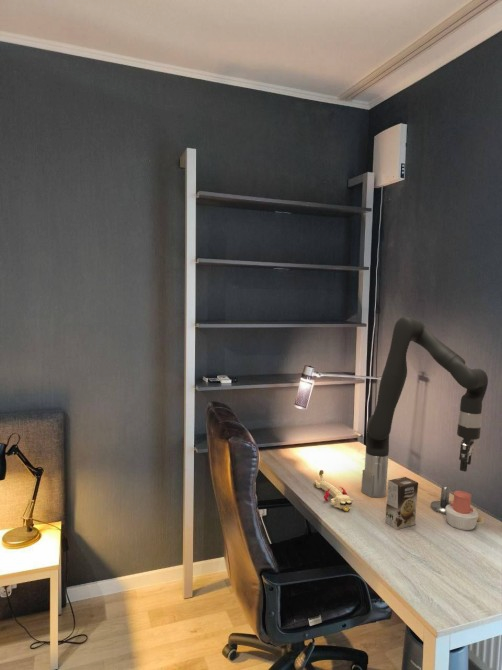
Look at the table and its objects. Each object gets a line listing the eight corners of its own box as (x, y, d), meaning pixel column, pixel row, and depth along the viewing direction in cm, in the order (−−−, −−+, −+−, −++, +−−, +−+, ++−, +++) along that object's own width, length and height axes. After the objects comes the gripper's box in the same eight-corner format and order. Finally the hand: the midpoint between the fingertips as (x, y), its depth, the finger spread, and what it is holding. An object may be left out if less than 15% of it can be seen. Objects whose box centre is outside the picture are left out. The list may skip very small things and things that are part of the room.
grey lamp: (445, 516, 176) (447, 494, 175) (424, 505, 185) (426, 483, 184) (463, 512, 181) (465, 489, 180) (442, 501, 189) (444, 480, 189)
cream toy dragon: (308, 490, 199) (336, 512, 175) (309, 469, 199) (336, 489, 175) (329, 488, 202) (359, 510, 178) (330, 468, 202) (359, 487, 178)
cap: (448, 510, 170) (450, 494, 170) (451, 504, 175) (453, 488, 175) (471, 516, 166) (472, 499, 166) (473, 510, 171) (475, 494, 171)
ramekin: (460, 515, 178) (461, 501, 178) (484, 529, 168) (485, 515, 167) (437, 519, 174) (438, 505, 174) (460, 534, 164) (462, 519, 163)
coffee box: (397, 530, 165) (400, 486, 163) (384, 522, 170) (387, 479, 169) (416, 525, 169) (419, 482, 167) (402, 517, 175) (405, 475, 173)
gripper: (461, 417, 175) (457, 459, 177) (454, 426, 163) (450, 470, 165) (483, 421, 171) (479, 464, 173) (477, 430, 159) (473, 476, 161)
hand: (465, 467), depth 169 cm, fingers open, 8 cm apart
